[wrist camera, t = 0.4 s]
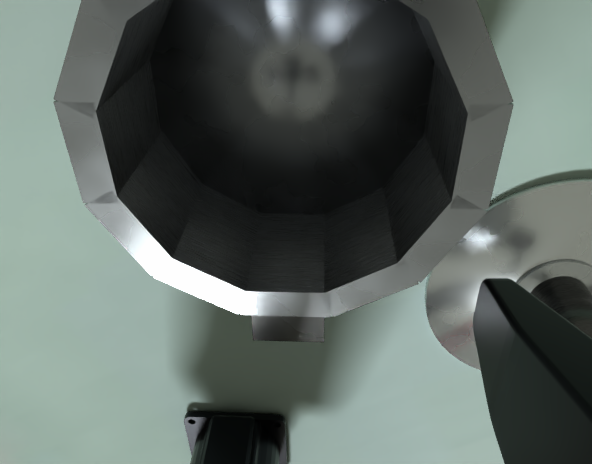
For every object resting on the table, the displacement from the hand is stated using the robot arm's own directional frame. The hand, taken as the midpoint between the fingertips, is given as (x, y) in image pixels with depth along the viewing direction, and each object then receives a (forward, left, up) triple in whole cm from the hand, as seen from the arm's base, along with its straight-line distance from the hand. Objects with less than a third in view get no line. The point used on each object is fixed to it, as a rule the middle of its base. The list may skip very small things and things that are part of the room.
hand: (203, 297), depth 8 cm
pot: (-1, -1, -14) cm, 14 cm away
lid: (-11, -14, -14) cm, 23 cm away
